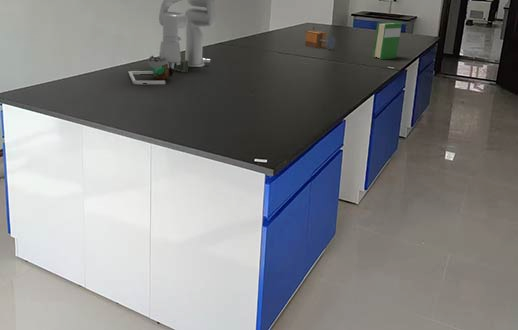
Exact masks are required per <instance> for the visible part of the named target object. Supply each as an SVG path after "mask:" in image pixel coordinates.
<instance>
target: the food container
mask: <svg viewBox="0 0 518 330" xmlns="http://www.w3.org/2000/svg"><path fill="white" fill-rule="evenodd" d="M148 65H149V66H150V68H151V71H153V74H154V75H153V76H154V79H155V80H157V79H159V80H158V81H165V80H167V79H170V78H171V77H170V75H169V69H168V61H167V59H166V60H161V59H160V58H159V57H158V58H157V57H154V55H151V56H150V57H149V58H148Z"/></svg>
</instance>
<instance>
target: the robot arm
mask: <svg viewBox="0 0 518 330" xmlns="http://www.w3.org/2000/svg"><path fill="white" fill-rule="evenodd" d="M180 1H182V0H163V1H162V3H161V6H160V10H159V13H158V21H159V24H160V26H162V41H160V46H159V55H158V56H159V57H158V58H160V59H161V60H166V59H167V61H168V69H169V75H170V78H171V77H172V76H173V74H174V70H173V68H174V67H175V66H176V65H180V64H181V63H180V59H181V45H180V42H179V41H181V40H182V38H181V37H180V36H179V29H183V28H185V55H184V58H185V59H184V60H187V61H188V68H202V67H204V66H205V63H211V59H210V58H204V57H203V43H204V34H203V31H202V29H201V28H214V27H215V26H216V23H217V0H187V3H188V5H189V6H192V7H191V8H188V9H186V10H185V12H184V13H182V12H176V11H168V10H169V8H171V6H173V4H175V3H178V2H180ZM193 7H194V8H193ZM196 7H198V8H196ZM203 8H204V9H203ZM169 63H171V66H170V67H169Z"/></svg>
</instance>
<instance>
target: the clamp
mask: <svg viewBox="0 0 518 330" xmlns="http://www.w3.org/2000/svg"><path fill="white" fill-rule="evenodd" d="M312 28H313V29H312V30H307V31H306V33H305V34H306V35H305V42H304V44H305V45H304V46H305V47H308V48H314V49H320V48H325V46H326V45H325V44H326V43H327V48H328V49H329V50H331V49H333V48H334V47H335V43H336V39H335V37H334V36H331V37H329V39H328V40H327V39H326V36H327V35H326V34H327V33H326V32H324V31H320V30H315V26H313V27H312Z"/></svg>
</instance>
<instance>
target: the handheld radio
mask: <svg viewBox="0 0 518 330" xmlns="http://www.w3.org/2000/svg"><path fill="white" fill-rule="evenodd" d="M180 63H181V64H180V65H176V66H175V67H174V68H173V71H176V70H177V71H178V72H180V71H181V72H180V73H184V72H187V73H189V66H188V61H187V60H185V59H183V58H180ZM170 66H171V63H169V67H170Z"/></svg>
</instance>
